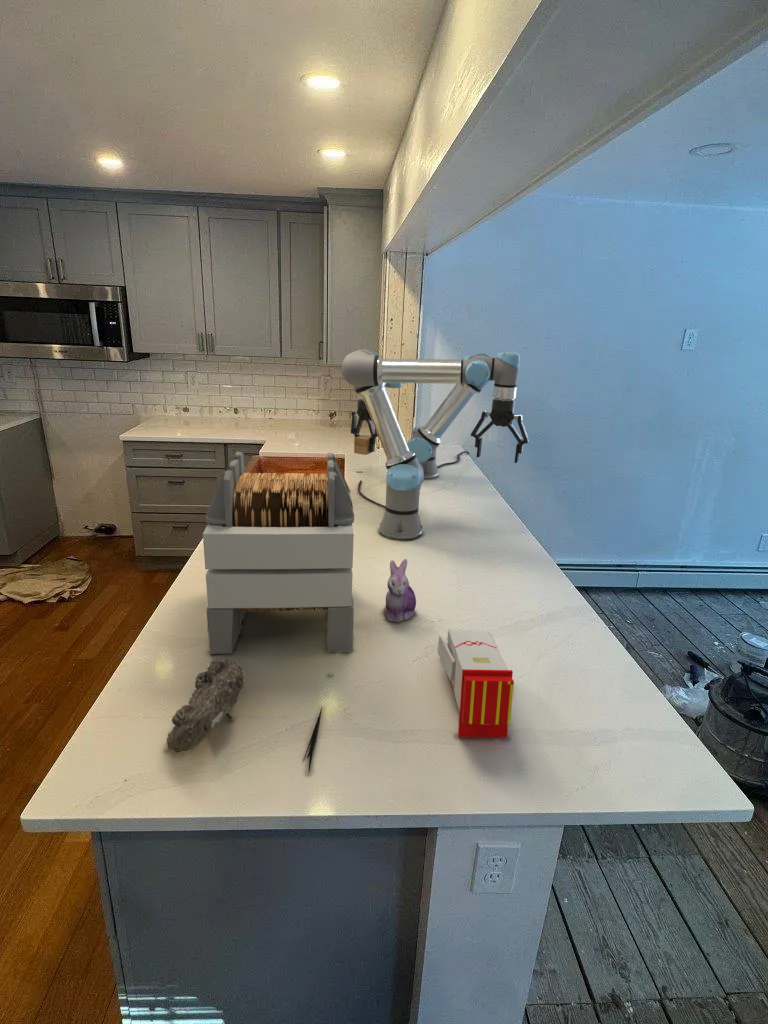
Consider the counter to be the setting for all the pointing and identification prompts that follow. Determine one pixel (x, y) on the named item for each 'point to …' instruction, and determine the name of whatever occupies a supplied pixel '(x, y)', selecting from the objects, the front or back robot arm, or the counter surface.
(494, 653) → the toy
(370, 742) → the counter surface
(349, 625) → the grey record crate
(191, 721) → the fossil
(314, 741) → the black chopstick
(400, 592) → the figurine
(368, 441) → the brown cardboard box
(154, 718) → the counter surface
